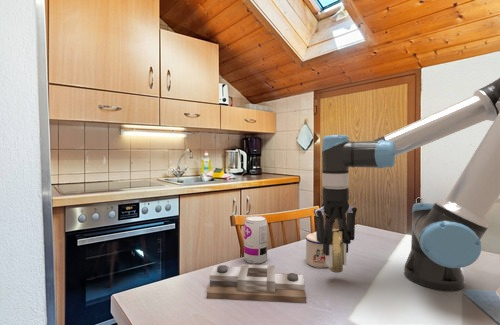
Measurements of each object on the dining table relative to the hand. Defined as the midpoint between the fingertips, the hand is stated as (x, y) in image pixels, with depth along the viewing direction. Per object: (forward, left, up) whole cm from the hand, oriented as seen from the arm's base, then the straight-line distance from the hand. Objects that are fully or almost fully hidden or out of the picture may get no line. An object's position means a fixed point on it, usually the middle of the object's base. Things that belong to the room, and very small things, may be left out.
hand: (335, 264), depth 82 cm
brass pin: (0, 0, -2) cm, 2 cm away
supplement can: (+28, +6, -5) cm, 29 cm away
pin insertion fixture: (+14, +20, -5) cm, 25 cm away
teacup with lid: (+10, -9, -5) cm, 14 cm away
